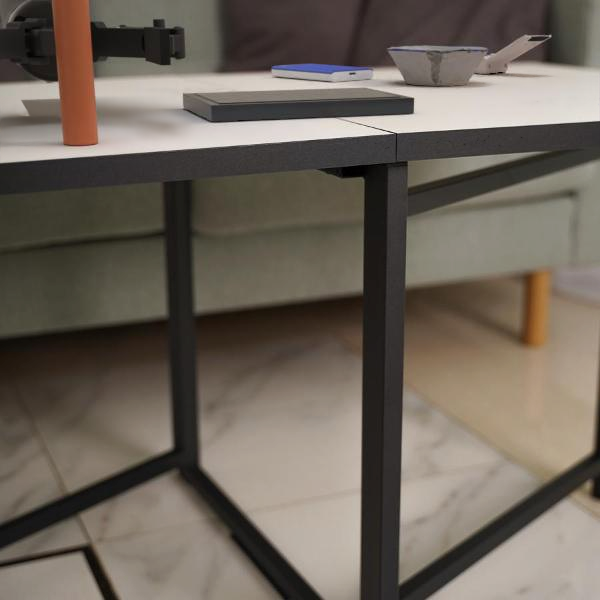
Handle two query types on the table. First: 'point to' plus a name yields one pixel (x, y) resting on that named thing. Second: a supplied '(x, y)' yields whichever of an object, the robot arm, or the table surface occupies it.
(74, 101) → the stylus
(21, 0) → the robot arm
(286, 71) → the hard drive
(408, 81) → the bowl
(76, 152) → the table surface
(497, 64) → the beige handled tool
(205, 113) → the tablet
